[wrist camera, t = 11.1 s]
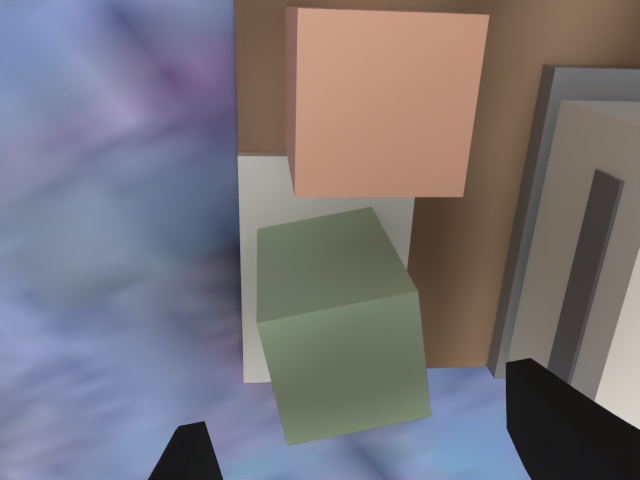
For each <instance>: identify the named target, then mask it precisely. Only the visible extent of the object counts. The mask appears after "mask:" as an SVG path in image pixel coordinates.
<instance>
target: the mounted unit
mask: <svg viewBox="0 0 640 480" xmlns="http://www.w3.org/2000/svg"><path fill="white" fill-rule="evenodd" d="M527 358H532V359H533V360H535V361H536V362H538V363H539V364H541V365H542V366H543V367H545V368H546V369H548V370H549V371H551V372H552V373H553V374H555V375H556V376H558V377H559V378H561V379H562V380H563V381H565V382H566V383H568V384H569V385H571V386H572V387H574V388H575V389H577V390H578V391H579V392H581V393H582V394H584V395H585V396H587V397H588V398H590V399H591V400H593V401H594V402H596V403H598V404H599V405H601V406H602V407H604V408H605V409H607V410H608V411H610V412H612V413H613V414H615V415H616V416H618V417H620V418H621V419H623V420H624V421H626V422H628V423H629V424H631V425H633V426H635V427H636V428H638V429H640V67H609V66H570V65H543V70H542V75H541V81H540V86H539V91H538V96H537V102H536V107H535V112H534V118H533V123H532V128H531V134H530V139H529V144H528V150H527V155H526V160H525V165H524V171H523V176H522V181H521V187H520V192H519V197H518V203H517V208H516V213H515V219H514V224H513V229H512V234H511V240H510V245H509V250H508V256H507V261H506V266H505V272H504V277H503V282H502V288H501V293H500V298H499V303H498V309H497V314H496V319H495V325H494V330H493V335H492V341H491V346H490V351H489V357H488V362H487V367H488V369H489V371H490V372H491V374H492V375H493V377H494V378H506V362H511V361H516V360H521V359H527Z"/></svg>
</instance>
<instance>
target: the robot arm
mask: <svg viewBox="0 0 640 480" xmlns="http://www.w3.org/2000/svg"><path fill="white" fill-rule="evenodd" d="M506 414H507V430H508V432H509V434H510V437H511V439H512V441H513V444H514V446H515V448H516V450H517V453H518V455H519V457H520V459H521V461H522V463H523V465H524V468H525V469H526V471H527V473H528V475H529V476H530V478H531V480H640V429H638V428H636V427H635V426H633V425H631V424H629V423H628V422H626V421H624V420H623V419H621V418H620V417H618V416H616V415H615V414H613V413H612V412H610V411H608V410H607V409H605V408H604V407H602V406H601V405H599V404H598V403H596V402H594V401H593V400H591V399H590V398H588V397H587V396H585V395H584V394H582V393H581V392H579V391H578V390H577V389H575V388H574V387H572V386H571V385H569V384H568V383H566V382H565V381H563V380H562V379H561V378H559V377H558V376H556V375H555V374H553V373H552V372H551V371H549V370H548V369H546V368H545V367H543V366H542V365H541V364H539V363H538V362H536V361H535V360H533V359H532V358H527V359H521V360H516V361H511V362H506ZM148 480H223V477H222V474H221V471H220V468H219V465H218V462H217V459H216V455H215V452H214V449H213V446H212V443H211V440H210V437H209V434H208V430H207V427H206V424H205V421H203V422H198V423H192V424H187V425H182V426H179V427H178V428H177V429H176V430H175V432H174V434H173V436H172V438H171V439H170V441H169V443H168V445H167V447H166V449H165V450H164V452H163V454H162V456H161V458H160V459H159V461H158V463H157V465H156V466H155V468H154V470H153V472H152V473H151V475H150V477H149V479H148Z"/></svg>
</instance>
